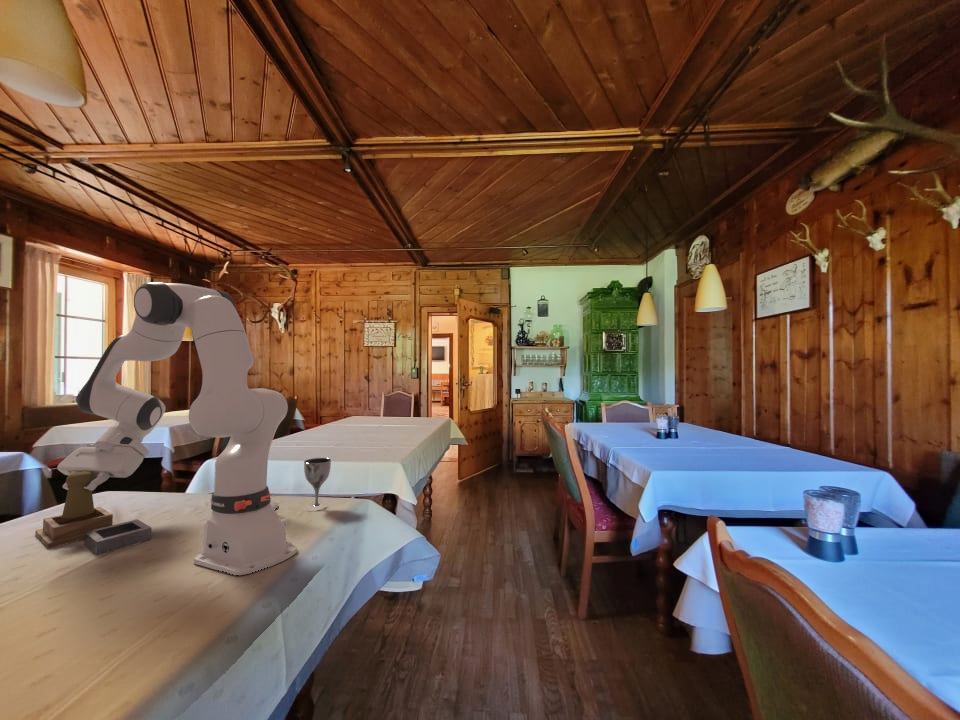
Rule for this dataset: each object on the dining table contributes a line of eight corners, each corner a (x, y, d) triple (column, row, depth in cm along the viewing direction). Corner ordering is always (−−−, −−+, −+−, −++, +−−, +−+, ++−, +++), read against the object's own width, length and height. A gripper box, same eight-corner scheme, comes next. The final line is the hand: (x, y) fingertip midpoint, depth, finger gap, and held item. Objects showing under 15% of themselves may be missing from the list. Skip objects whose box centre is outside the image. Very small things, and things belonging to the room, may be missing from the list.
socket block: (151, 539, 99) (151, 527, 99) (96, 555, 90) (97, 542, 90) (136, 530, 104) (137, 519, 104) (83, 544, 96) (84, 532, 96)
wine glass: (304, 504, 126) (305, 458, 126) (330, 502, 128) (331, 457, 129) (301, 513, 118) (302, 464, 119) (328, 510, 121) (329, 462, 121)
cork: (72, 519, 99) (75, 476, 99) (55, 516, 100) (57, 474, 101) (100, 510, 105) (102, 470, 105) (83, 508, 106) (85, 468, 107)
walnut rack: (119, 530, 104) (119, 514, 104) (48, 548, 93) (48, 530, 93) (102, 519, 112) (103, 504, 112) (35, 534, 101) (36, 518, 101)
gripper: (76, 437, 111) (32, 481, 101) (141, 440, 109) (102, 484, 99) (92, 450, 115) (51, 493, 105) (155, 452, 113) (119, 496, 103)
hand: (77, 489), depth 102 cm, fingers closed on cork, 5 cm apart
